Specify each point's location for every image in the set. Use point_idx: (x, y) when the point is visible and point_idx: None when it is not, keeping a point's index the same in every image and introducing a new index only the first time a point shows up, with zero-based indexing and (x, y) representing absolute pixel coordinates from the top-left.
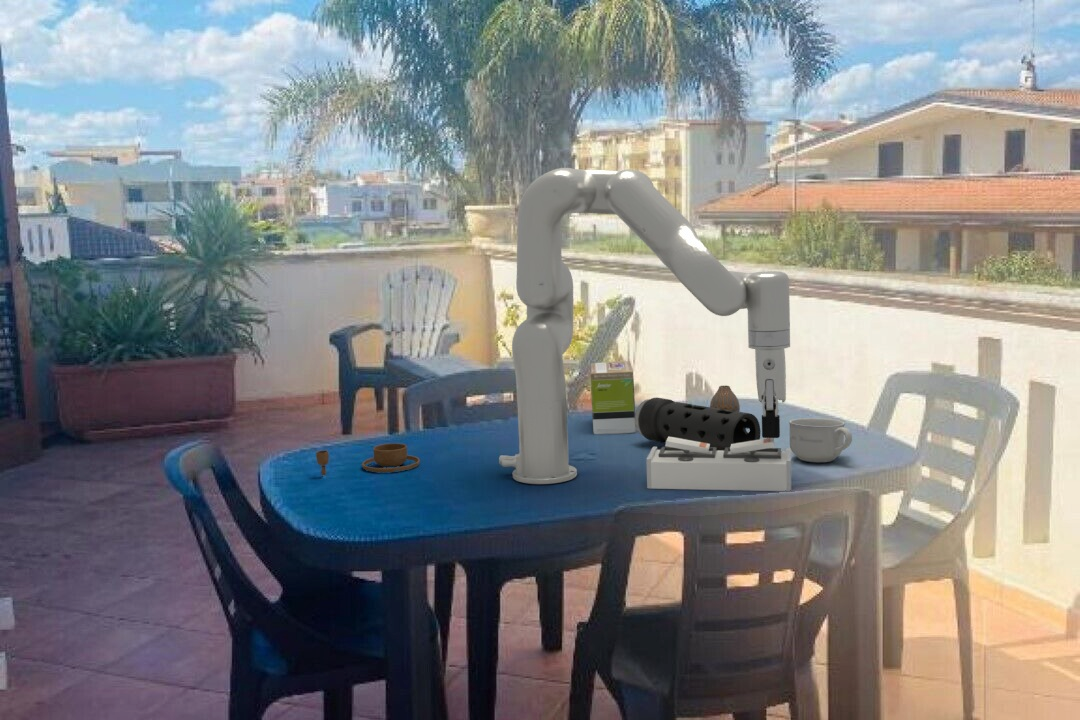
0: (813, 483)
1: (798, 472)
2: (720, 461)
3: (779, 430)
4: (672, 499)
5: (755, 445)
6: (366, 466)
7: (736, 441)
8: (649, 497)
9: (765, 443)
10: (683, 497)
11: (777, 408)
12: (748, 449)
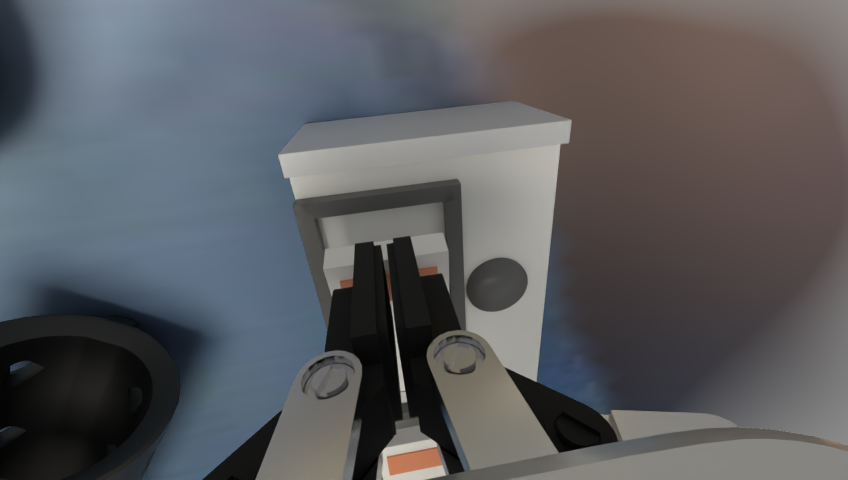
0: (381, 13)
1: (208, 100)
2: (515, 366)
3: (414, 256)
4: (587, 370)
5: None
6: None
7: (11, 399)
8: None
9: (448, 281)
10: (572, 357)
11: (524, 404)
12: None
